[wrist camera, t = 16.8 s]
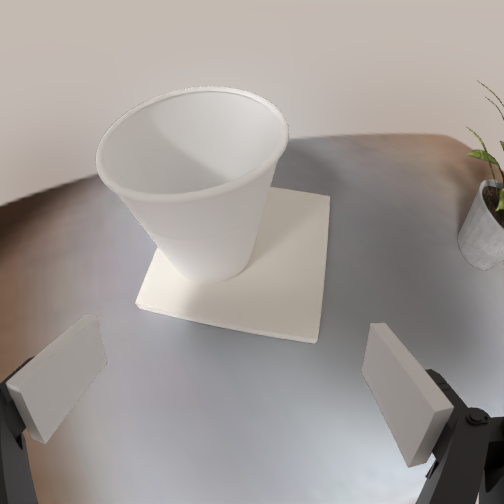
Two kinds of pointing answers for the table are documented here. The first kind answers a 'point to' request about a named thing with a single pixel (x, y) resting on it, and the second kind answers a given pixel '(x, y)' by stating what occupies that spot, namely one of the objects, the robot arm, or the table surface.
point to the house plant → (484, 219)
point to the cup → (197, 174)
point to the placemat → (258, 276)
